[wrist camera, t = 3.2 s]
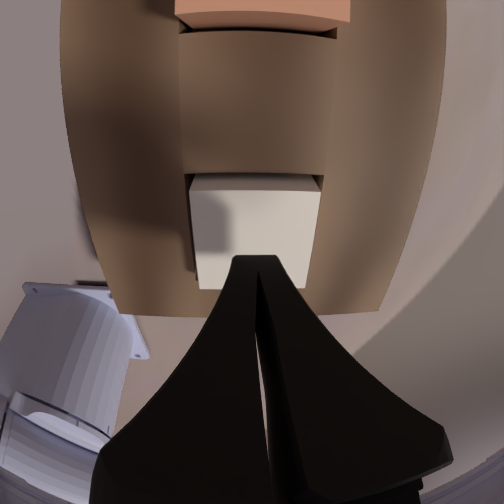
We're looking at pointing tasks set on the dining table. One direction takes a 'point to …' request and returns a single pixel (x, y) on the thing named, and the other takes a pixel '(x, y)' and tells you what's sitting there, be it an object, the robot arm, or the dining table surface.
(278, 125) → the key panel
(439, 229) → the dining table surface
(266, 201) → the off white key
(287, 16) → the salmon orange square block
